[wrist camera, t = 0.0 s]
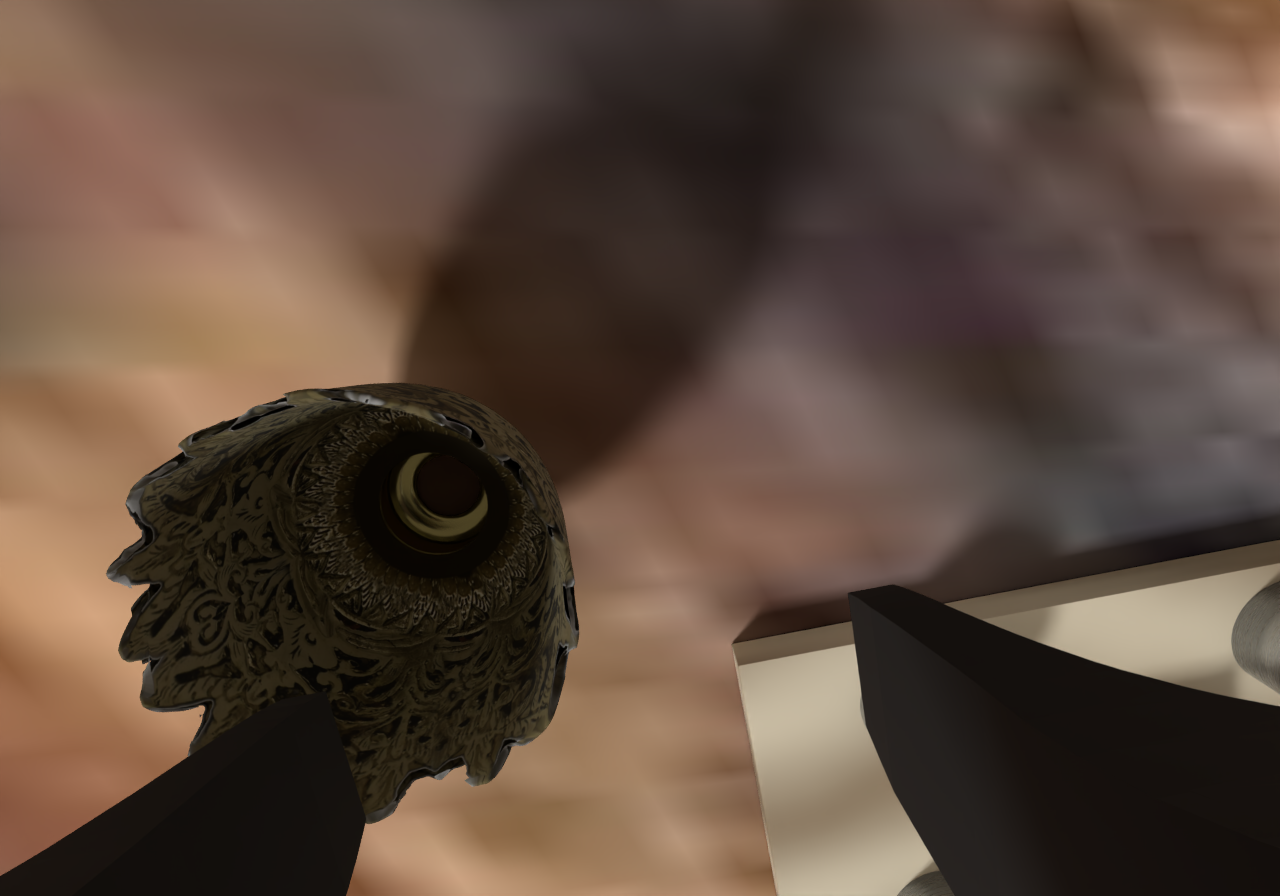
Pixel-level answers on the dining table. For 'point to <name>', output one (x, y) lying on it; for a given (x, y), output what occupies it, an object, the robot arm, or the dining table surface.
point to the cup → (356, 581)
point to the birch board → (1050, 614)
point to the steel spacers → (1263, 647)
